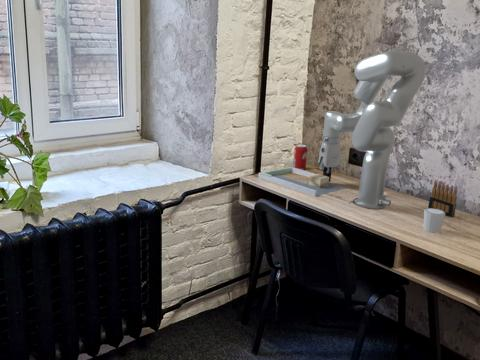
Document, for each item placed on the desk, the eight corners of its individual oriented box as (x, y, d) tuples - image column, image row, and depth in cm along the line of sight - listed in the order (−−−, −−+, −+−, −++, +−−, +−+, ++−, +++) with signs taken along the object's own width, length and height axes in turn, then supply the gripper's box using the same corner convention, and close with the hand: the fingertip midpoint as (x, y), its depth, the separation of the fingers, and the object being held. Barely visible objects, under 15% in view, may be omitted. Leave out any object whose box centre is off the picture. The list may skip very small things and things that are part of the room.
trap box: (346, 191, 212) (347, 182, 211) (314, 199, 198) (315, 190, 197) (290, 173, 235) (291, 166, 233) (257, 180, 220) (258, 172, 219)
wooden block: (328, 185, 213) (329, 177, 212) (319, 187, 209) (320, 178, 208) (317, 182, 217) (318, 173, 216) (308, 184, 213) (309, 175, 212)
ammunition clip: (427, 208, 196) (432, 179, 193) (430, 208, 197) (435, 179, 194) (451, 217, 188) (457, 187, 184) (454, 216, 189) (460, 186, 185)
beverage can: (306, 171, 242) (308, 147, 238) (293, 170, 242) (295, 146, 238) (304, 168, 248) (307, 144, 244) (292, 167, 248) (294, 143, 244)
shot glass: (444, 230, 173) (448, 211, 171) (437, 235, 168) (441, 215, 166) (425, 224, 177) (429, 206, 175) (418, 229, 172) (421, 210, 170)
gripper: (327, 143, 204) (322, 185, 209) (348, 140, 214) (343, 181, 219) (313, 140, 209) (308, 181, 214) (334, 137, 219) (329, 176, 224)
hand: (326, 181), depth 216 cm, fingers closed
